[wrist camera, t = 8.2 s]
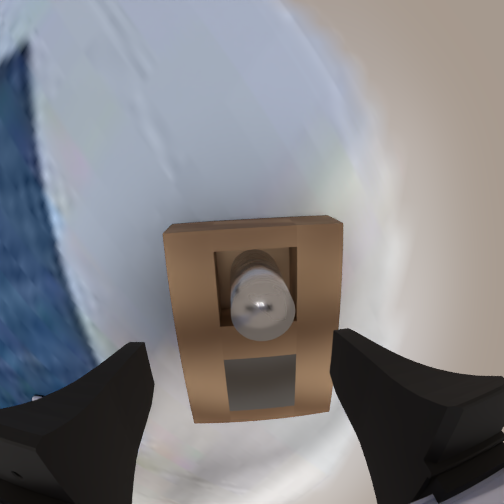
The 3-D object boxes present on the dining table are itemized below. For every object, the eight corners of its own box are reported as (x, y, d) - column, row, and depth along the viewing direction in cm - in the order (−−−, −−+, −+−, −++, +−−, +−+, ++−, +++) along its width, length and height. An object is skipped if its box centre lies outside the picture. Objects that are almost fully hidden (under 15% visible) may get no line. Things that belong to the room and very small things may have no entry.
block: (319, 387, 24) (329, 411, 21) (197, 398, 23) (194, 423, 20) (327, 215, 20) (343, 223, 17) (172, 224, 20) (162, 233, 17)
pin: (278, 290, 21) (296, 336, 15) (233, 296, 21) (234, 344, 15) (275, 246, 20) (293, 279, 14) (227, 252, 20) (226, 287, 14)
